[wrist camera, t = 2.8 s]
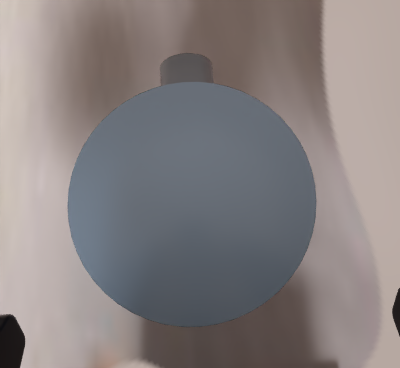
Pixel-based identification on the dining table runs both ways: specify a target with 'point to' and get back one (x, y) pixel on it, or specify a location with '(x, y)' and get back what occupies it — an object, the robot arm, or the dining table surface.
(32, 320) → the dining table surface
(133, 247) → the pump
